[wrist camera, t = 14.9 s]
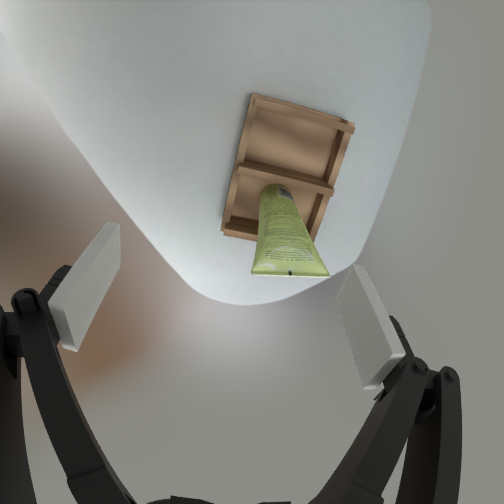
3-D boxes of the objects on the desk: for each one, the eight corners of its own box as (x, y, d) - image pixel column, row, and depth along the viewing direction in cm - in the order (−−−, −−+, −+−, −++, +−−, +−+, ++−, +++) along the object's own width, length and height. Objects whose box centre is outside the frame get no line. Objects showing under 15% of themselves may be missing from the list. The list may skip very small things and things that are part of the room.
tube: (268, 222, 46) (282, 307, 29) (248, 198, 44) (250, 275, 27) (298, 201, 44) (331, 277, 27) (278, 176, 42) (302, 241, 25)
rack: (251, 93, 37) (252, 93, 31) (344, 119, 39) (359, 125, 33) (222, 218, 47) (219, 237, 41) (305, 235, 49) (313, 256, 43)
